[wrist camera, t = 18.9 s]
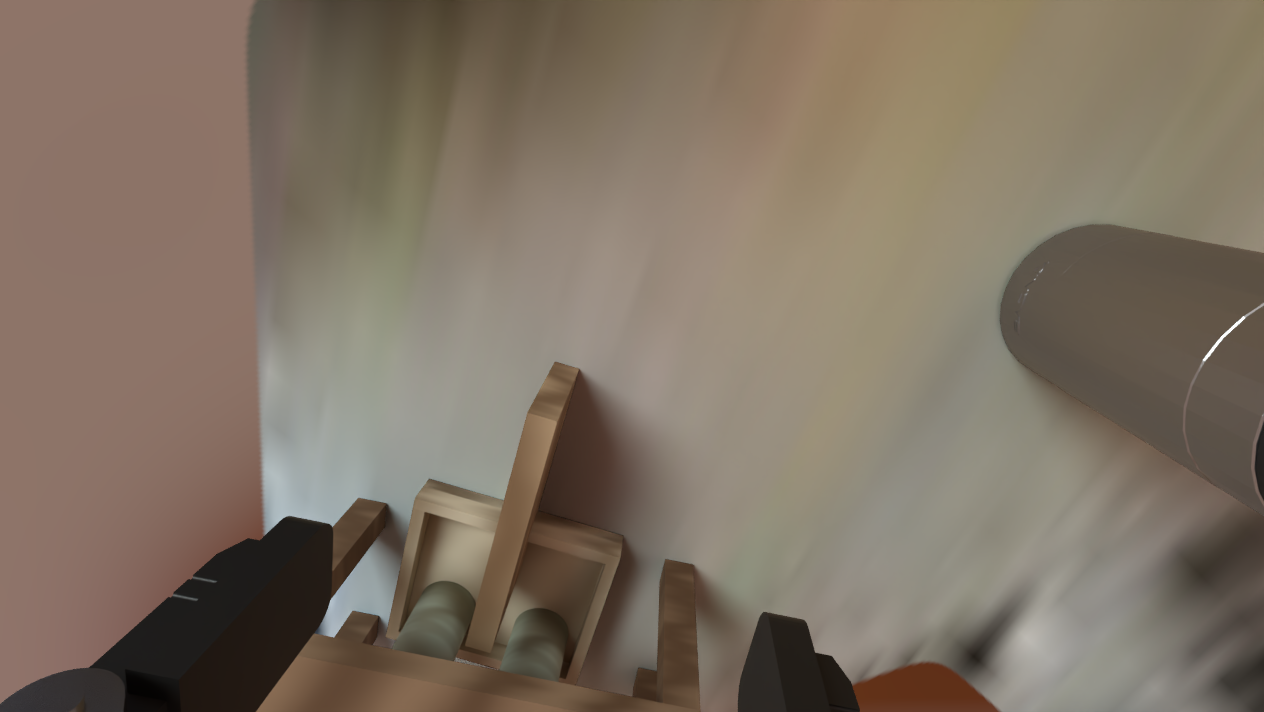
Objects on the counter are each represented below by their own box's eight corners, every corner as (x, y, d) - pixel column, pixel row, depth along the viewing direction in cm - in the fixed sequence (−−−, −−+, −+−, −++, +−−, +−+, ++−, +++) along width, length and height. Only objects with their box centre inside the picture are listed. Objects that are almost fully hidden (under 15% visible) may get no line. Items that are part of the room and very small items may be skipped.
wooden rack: (693, 564, 44) (701, 736, 31) (659, 692, 48) (654, 891, 35) (358, 497, 44) (230, 642, 31) (351, 631, 48) (235, 808, 35)
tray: (671, 397, 40) (671, 455, 33) (578, 663, 48) (560, 761, 40) (460, 332, 40) (410, 377, 32) (399, 612, 47) (347, 702, 40)
